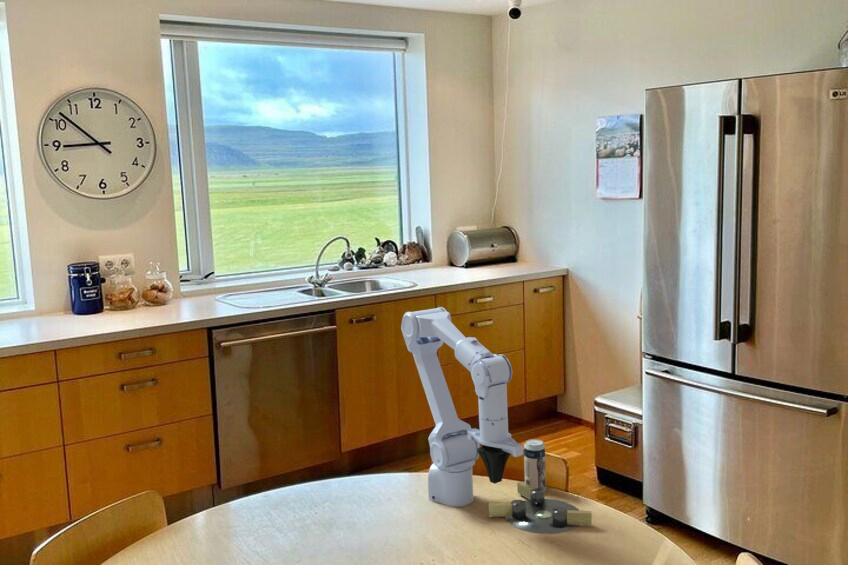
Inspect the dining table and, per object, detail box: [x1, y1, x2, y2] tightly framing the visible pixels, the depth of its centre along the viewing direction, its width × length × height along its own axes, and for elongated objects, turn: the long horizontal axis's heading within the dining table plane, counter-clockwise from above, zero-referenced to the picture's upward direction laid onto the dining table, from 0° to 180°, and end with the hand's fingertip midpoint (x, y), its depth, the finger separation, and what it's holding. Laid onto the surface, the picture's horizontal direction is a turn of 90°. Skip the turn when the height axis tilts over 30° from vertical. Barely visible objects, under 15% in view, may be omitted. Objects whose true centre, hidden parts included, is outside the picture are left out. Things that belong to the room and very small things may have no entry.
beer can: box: [523, 438, 547, 492], centre depth 171 cm, size 5×5×12 cm
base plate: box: [504, 498, 581, 535], centre depth 159 cm, size 16×16×2 cm
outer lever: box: [552, 508, 593, 527], centre depth 154 cm, size 8×3×3 cm, turn 81°
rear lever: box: [516, 481, 546, 507], centre depth 166 cm, size 8×3×3 cm, turn 30°
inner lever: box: [487, 499, 526, 519], centre depth 158 cm, size 8×3×3 cm, turn 92°
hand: (495, 481), depth 154 cm, fingers closed
